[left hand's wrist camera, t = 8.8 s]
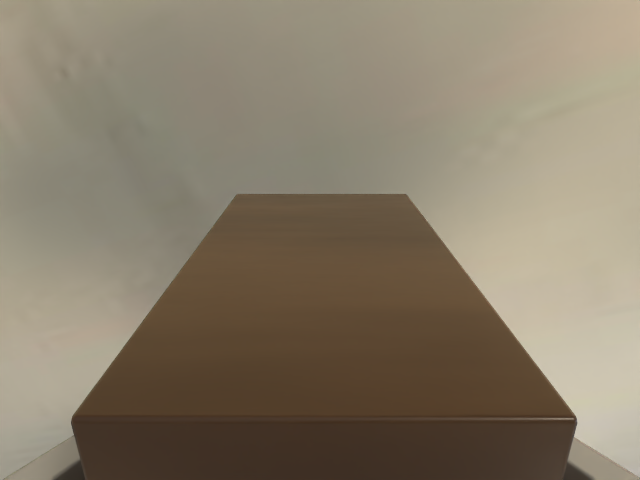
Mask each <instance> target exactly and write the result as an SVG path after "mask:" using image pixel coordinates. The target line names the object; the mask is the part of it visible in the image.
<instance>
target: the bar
mask: <svg viewBox="0 0 640 480" xmlns="http://www.w3.org/2000/svg"><path fill="white" fill-rule="evenodd" d="M71 425H72V429H73V433H74V437H75V441H76V445H77V449H78V453H79V457H80V461H81V465H82V469H83V473H84V477H85V480H563V477H564V473H565V469H566V465H567V461H568V457H569V453H570V449H571V445H572V442H573V438H574V434H575V430H576V426H577V419H576V416H575V415H574V413H573V412H572V411H571V409H570V408H569V407H568V405H567V404H566V403H565V401H564V400H563V399H562V397H561V396H560V395H559V394H558V392H557V391H556V390H555V388H554V387H553V386H552V384H551V383H550V382H549V380H548V379H547V378H546V377H545V375H544V374H543V373H542V371H541V370H540V369H539V367H538V366H537V365H536V363H535V362H534V361H533V360H532V358H531V357H530V356H529V354H528V353H527V352H526V350H525V349H524V348H523V346H522V345H521V344H520V342H519V341H518V340H517V339H516V337H515V336H514V335H513V333H512V332H511V331H510V329H509V328H508V327H507V325H506V324H505V323H504V322H503V320H502V319H501V318H500V316H499V315H498V314H497V312H496V311H495V310H494V308H493V307H492V306H491V304H490V303H489V302H488V301H487V299H486V298H485V297H484V295H483V294H482V293H481V291H480V290H479V289H478V287H477V286H476V285H475V284H474V282H473V281H472V280H471V278H470V277H469V276H468V274H467V273H466V272H465V270H464V269H463V268H462V266H461V265H460V264H459V263H458V261H457V260H456V259H455V257H454V256H453V255H452V253H451V252H450V251H449V249H448V248H447V247H446V246H445V244H444V243H443V242H442V240H441V239H440V238H439V236H438V235H437V234H436V232H435V231H434V230H433V228H432V227H431V226H430V225H429V223H428V222H427V221H426V219H425V218H424V217H423V215H422V214H421V213H420V211H419V210H418V209H417V208H416V206H415V205H414V204H413V202H412V201H411V200H410V198H409V197H408V196H407V195H406V194H237V195H236V196H235V197H234V199H233V200H232V201H231V203H230V204H229V206H228V207H227V208H226V210H225V211H224V212H223V214H222V215H221V216H220V218H219V219H218V220H217V222H216V223H215V224H214V226H213V227H212V228H211V230H210V231H209V233H208V234H207V235H206V237H205V238H204V239H203V241H202V242H201V243H200V245H199V246H198V247H197V249H196V250H195V251H194V253H193V254H192V255H191V257H190V258H189V260H188V261H187V262H186V264H185V265H184V266H183V268H182V269H181V270H180V272H179V273H178V274H177V276H176V277H175V278H174V280H173V281H172V282H171V284H170V285H169V287H168V288H167V289H166V291H165V292H164V293H163V295H162V296H161V297H160V299H159V300H158V301H157V303H156V304H155V305H154V307H153V308H152V309H151V311H150V312H149V314H148V315H147V316H146V318H145V319H144V320H143V322H142V323H141V324H140V326H139V327H138V328H137V330H136V331H135V332H134V334H133V335H132V336H131V338H130V339H129V341H128V342H127V343H126V345H125V346H124V347H123V349H122V350H121V351H120V353H119V354H118V355H117V357H116V358H115V359H114V361H113V362H112V363H111V365H110V366H109V368H108V369H107V370H106V372H105V373H104V374H103V376H102V377H101V378H100V380H99V381H98V382H97V384H96V385H95V386H94V388H93V389H92V390H91V392H90V393H89V395H88V396H87V397H86V399H85V400H84V401H83V403H82V404H81V405H80V407H79V408H78V409H77V411H76V412H75V413H74V415H73V416H72V420H71Z"/></svg>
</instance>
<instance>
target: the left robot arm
mask: <svg viewBox="0 0 640 480" xmlns="http://www.w3.org/2000/svg"><path fill="white" fill-rule="evenodd" d="M4 480H85V477H84V473H83V469H82V465H81V461H80V457H79V453H78V449H77V445H76V441H75V437H74V436H72V437H70V438H69V439H67V440H66V441H64V442H62V443H61V444H59V445H58V446H56V447H54V448H53V449H51V450H50V451H48V452H46V453H45V454H43V455H41V456H40V457H38V458H37V459H35V460H33V461H32V462H30V463H29V464H27V465H25V466H24V467H22V468H21V469H19V470H17V471H16V472H14V473H13V474H11V475H9V476H8V477H6V478H5V479H4ZM563 480H640V478H639V477H638V476H636V475H634V474H633V473H631V472H630V471H628V470H626V469H625V468H623V467H621V466H620V465H618V464H617V463H615V462H613V461H612V460H610V459H608V458H607V457H605V456H604V455H602V454H600V453H599V452H597V451H596V450H594V449H592V448H591V447H589V446H587V445H586V444H584V443H583V442H581V441H579V440H578V439H576V438H575V437H574V438H573V442H572V445H571V449H570V453H569V457H568V461H567V465H566V469H565V473H564V477H563Z"/></svg>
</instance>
